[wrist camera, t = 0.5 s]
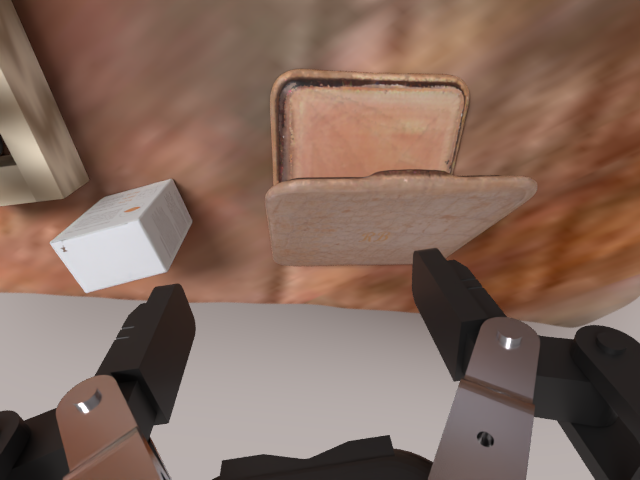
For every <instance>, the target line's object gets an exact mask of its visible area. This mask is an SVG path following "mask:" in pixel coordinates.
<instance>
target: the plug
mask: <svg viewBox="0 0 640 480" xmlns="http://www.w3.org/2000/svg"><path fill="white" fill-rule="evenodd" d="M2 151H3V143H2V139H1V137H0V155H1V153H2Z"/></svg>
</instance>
